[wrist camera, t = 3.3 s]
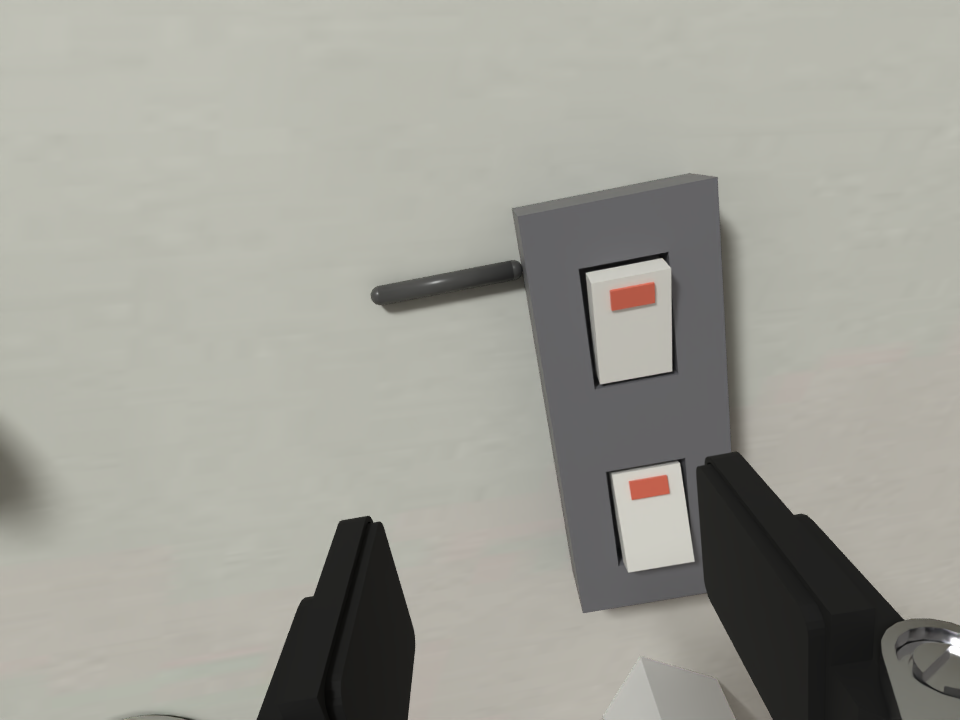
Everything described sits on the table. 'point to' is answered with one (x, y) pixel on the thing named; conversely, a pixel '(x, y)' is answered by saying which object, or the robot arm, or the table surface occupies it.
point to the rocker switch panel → (628, 403)
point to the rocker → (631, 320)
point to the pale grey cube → (668, 695)
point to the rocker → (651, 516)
